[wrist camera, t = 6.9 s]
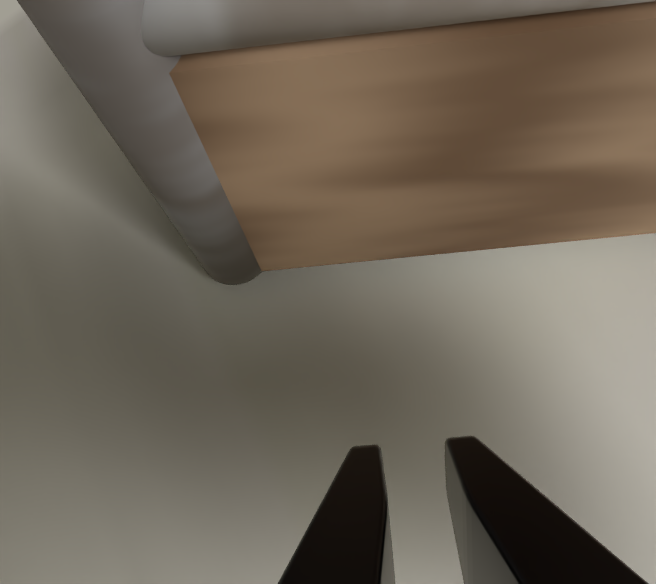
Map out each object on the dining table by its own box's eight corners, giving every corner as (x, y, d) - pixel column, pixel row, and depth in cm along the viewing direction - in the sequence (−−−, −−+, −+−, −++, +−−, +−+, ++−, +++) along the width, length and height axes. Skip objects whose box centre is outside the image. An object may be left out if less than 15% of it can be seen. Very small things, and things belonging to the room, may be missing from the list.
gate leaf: (758, 168, 16) (1194, -229, 7) (782, 232, 15) (1285, -122, 7) (200, 224, 16) (16, -82, 8) (201, 288, 16) (1, 28, 7)
